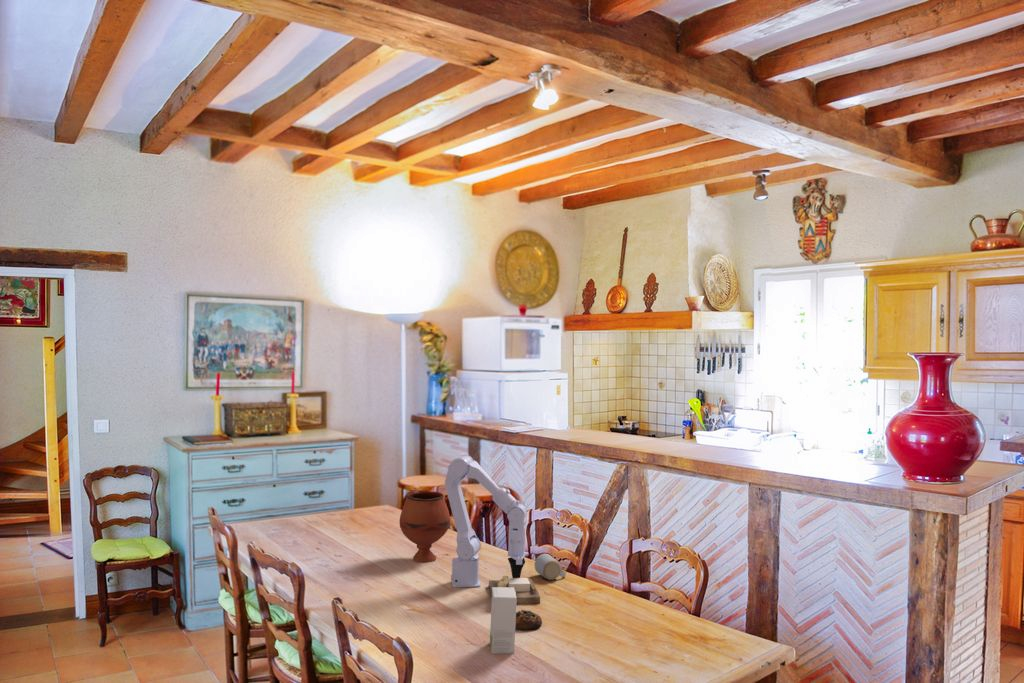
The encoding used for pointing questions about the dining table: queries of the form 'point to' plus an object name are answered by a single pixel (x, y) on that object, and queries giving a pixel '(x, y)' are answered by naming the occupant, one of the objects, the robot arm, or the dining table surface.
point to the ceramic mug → (548, 567)
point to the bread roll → (527, 620)
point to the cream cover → (519, 584)
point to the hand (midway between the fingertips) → (516, 579)
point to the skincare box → (503, 620)
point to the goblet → (424, 522)
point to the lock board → (521, 593)
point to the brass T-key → (503, 581)
